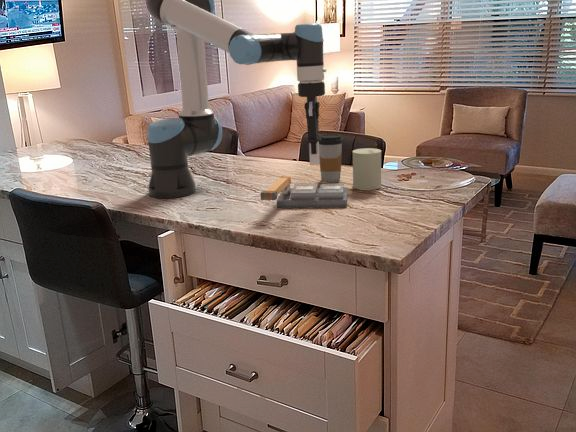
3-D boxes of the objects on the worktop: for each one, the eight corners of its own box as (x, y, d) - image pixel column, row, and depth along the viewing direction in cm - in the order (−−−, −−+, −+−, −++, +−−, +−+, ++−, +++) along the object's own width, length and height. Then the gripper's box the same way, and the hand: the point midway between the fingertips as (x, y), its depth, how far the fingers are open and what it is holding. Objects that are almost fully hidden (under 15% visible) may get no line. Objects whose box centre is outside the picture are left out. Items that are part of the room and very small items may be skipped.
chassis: (277, 207, 170) (276, 190, 169) (283, 194, 184) (282, 178, 182) (346, 206, 168) (346, 189, 166) (347, 194, 181) (347, 177, 180)
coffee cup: (341, 183, 194) (340, 138, 190) (316, 183, 196) (315, 138, 191) (344, 177, 202) (343, 133, 198) (320, 177, 204) (319, 134, 199)
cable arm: (280, 181, 177) (280, 175, 176) (293, 182, 176) (293, 175, 175) (260, 199, 159) (260, 192, 158) (275, 200, 158) (274, 193, 157)
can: (363, 191, 183) (363, 153, 179) (347, 185, 191) (346, 149, 187) (387, 187, 187) (387, 149, 183) (370, 181, 195) (370, 145, 191)
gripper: (322, 82, 159) (326, 168, 165) (326, 79, 171) (329, 159, 178) (295, 84, 160) (299, 169, 166) (300, 80, 172) (304, 160, 179)
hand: (314, 164), depth 172 cm, fingers closed
